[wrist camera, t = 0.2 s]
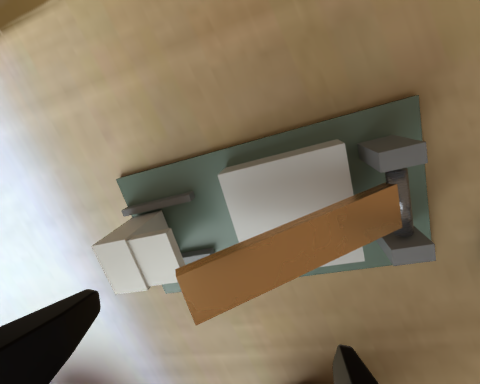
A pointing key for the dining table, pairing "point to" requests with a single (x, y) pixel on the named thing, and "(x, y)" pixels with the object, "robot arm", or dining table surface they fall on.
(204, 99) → the dining table surface
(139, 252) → the block
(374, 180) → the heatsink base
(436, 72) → the dining table surface
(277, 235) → the strap
